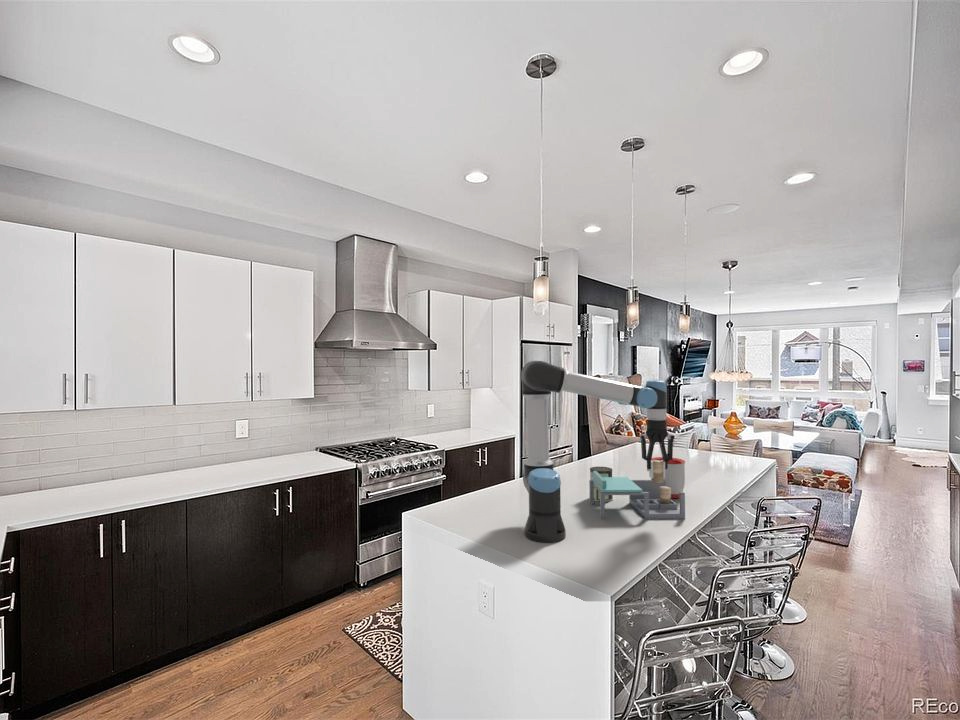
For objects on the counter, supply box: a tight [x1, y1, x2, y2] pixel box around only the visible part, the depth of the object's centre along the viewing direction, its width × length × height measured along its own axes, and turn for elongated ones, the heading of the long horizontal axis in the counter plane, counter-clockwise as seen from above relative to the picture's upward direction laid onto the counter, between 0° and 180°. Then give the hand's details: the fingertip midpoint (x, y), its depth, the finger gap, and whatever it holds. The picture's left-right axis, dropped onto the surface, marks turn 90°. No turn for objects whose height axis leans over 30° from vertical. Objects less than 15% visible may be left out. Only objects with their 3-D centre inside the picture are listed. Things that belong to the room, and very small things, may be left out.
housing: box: [588, 479, 686, 520], centre depth 202 cm, size 22×34×10 cm, turn 89°
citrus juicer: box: [646, 456, 686, 499], centre depth 225 cm, size 16×17×20 cm
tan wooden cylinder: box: [659, 486, 672, 504], centre depth 201 cm, size 4×4×8 cm
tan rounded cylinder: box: [650, 460, 663, 483], centre depth 188 cm, size 4×4×8 cm
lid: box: [592, 471, 643, 492], centre depth 202 cm, size 22×16×4 cm
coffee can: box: [589, 466, 614, 503], centre depth 220 cm, size 10×10×14 cm
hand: (657, 477), depth 188 cm, fingers closed on tan rounded cylinder, 4 cm apart
